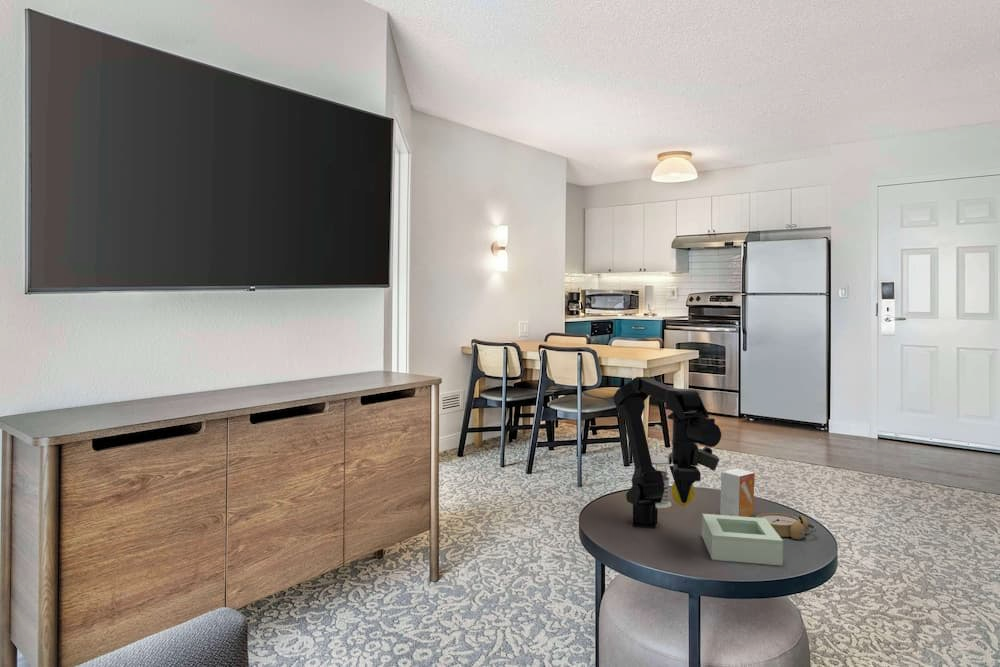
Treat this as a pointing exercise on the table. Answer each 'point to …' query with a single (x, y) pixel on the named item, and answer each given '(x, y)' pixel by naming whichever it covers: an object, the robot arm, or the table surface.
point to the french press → (662, 460)
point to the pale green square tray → (741, 539)
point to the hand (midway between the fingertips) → (682, 499)
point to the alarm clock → (789, 525)
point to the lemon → (677, 497)
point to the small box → (737, 493)
